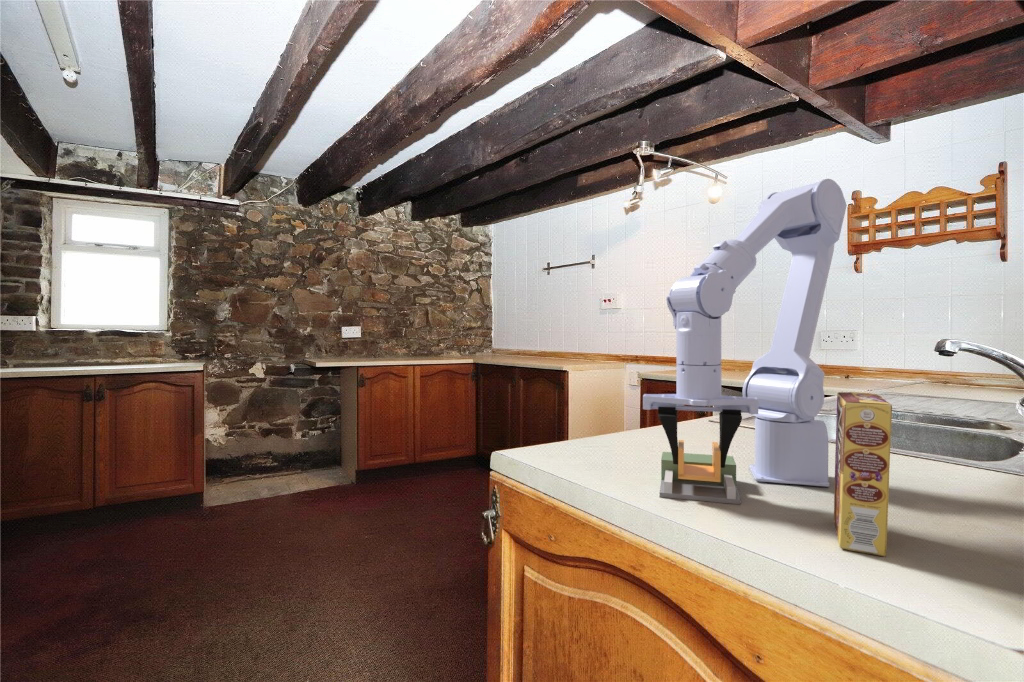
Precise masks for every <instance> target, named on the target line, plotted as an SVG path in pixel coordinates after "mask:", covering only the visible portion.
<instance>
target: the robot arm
mask: <svg viewBox="0 0 1024 682" xmlns="http://www.w3.org/2000/svg"><path fill="white" fill-rule="evenodd" d="M847 206H848V205H847V201H846V199H845V197H844V193H843V190H842V188H841V187H840V185H839V184H838V183H837V182H836V181H835V180H834V179H831V178H825V179H821V180H819V181H817V182H813V183H809V184H805V185H802V186H798V187H795V188H791V189H786V190H784V191H779V192H772V193H769V194H767V196H766V197H765V198H764V200H762V201H760V202H759V203H758V211H757V213H756V214H755V216H754V217H753V218H752V219H751V220H750V221H749V223H748V224H747V225H746V226H745V228H743V229H742V231H741V232H740V233H739V235H738V236H737V237H736V238H735V239H731V238H730V239H726V240H722V241H717V242H716V243H715V244H714V245H713V246H712V248H713V251H712V252H711V253H710V254H709V255H708V256H707V257H706V258H705V259H704V260H703V261H702V262H701V263H697V264H696V265H695V266H694V267H693V271H692V272H691V274H690V276H685V277H684V276H683V277H680V278H679V279H677V280H676V281H675V282H674V283H673V285H672V287H671V288H670V290H669V293H668V296H666V299H665V300H666V305H667V308H668V310H669V312H670V313H671V315H672V324H673V327H674V329H675V330H676V331H675V332H676V339H675V340H676V341H675V342H676V347H675V348H676V352H675V353H676V358H675V359H676V363H675V364H676V367H675V369H676V371H675V372H676V376H675V377H676V379H675V381H676V384H675V385H676V390H675V391H676V393H658V394H657V393H644V394H643V395H642V410H648V411H649V410H657V417H658V418H659V421H660V423H661V425H662V429H663V430H664V433H665V435H666V437H667V441H668V444H669V447H670V452H672V457H673V464H678V442H679V439H678V411H691V412H692V411H693V412H716V413H717V412H718V414H719V416H718V417H719V418H718V419H719V442H718V444H719V448H720V451H721V468H725V462H726V457H727V456H728V454H729V453H728V452H729V449H730V446H731V444H732V442H733V439H734V437H735V434H736V433H737V431H738V429H739V428H740V425H741V423H742V421H743V415H742V413H743V414H749V415H750V416H754V464H752V463H751V464H749V466H748V467H749V469H750V472H751V474H752V476H753V478H754V480H755V481H756V482H764V483H775V484H788V485H789V484H790V485H802V486H815V487H830V482H829V434H828V428H827V425H826V423H825V421H823V420H820V419H815V418H816V417H817V416H818V414H819V413H820V412H821V411H822V409H823V405H824V402H825V392H824V381H825V375H826V373H825V372H824V371H823V369H821V367H820V366H819V365H818V364H817V363H816V362H815V361H813V360H812V358H810V356H811V351H812V348H813V343H814V339H815V334H816V330H817V326H818V321H819V318H820V313H821V308H822V303H823V300H824V299H823V298H824V295H825V291H826V287H827V282H828V278H829V277H828V276H829V273H830V269H831V265H832V260H833V255H834V251H835V244H836V243H837V242H838V241H839V240H840V236H841V233H842V232H841V231H842V227H843V225H844V224H843V223H844V219H845V214H846V211H847V210H846V209H847ZM773 240H776V242H777V244H779V246H780V247H781V249H782V250H785V251H786V252H787V251H788V252H790V254H791V256H792V258H791V261H790V262H791V263H790V266H789V270H788V275H787V278H786V282H785V286H784V292H783V294H782V300H781V303H780V307H779V308H780V309H779V312H778V315H777V319H776V324H775V329H774V332H773V336H772V341H771V345H770V349H769V351H767V352H766V353H765V354H762V355H761V356H760V357H758V358H757V359H755V360H754V361H753V362H752V366H751V370H750V372H749V374H748V375H747V377H746V378H745V380H744V382H743V386H742V396H737V395H736V396H733V395H722V317H723V315H725V314H726V313H727V312H729V311H730V309H731V307H732V304H733V297H734V294H735V293H736V290H737V288H738V287H739V286H740V285H741V284H742V282H743V281H744V280H745V279H746V278H747V277H748V276H749V275H750V274H751V273H752V271H754V269H755V267H756V266H757V254H759V253H760V251H762V250H763V249H764V248H765V247H766V246H767V245H768V244H769V243H770V242H771V241H773Z"/></svg>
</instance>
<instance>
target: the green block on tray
mask: <svg viewBox="0 0 1024 682" xmlns="http://www.w3.org/2000/svg"><path fill="white" fill-rule="evenodd" d="M660 463H661V467H660V468H661V469H660V470H661V471H660V473H661V475H660V477H661V478H660V479H661V480H660V487H659V498H665V499H666V498H667V499H676V500H677V499H678V500H688V501H689V500H690V501H700V502H710V503H719V504H720V503H723V504H730V505H731V504H734V505H742V504H741V503H742V501H741V500H742V499H741V497H740V494H739V490H738V487H737V463H736V461H735V458H734V456H732V455H727V457H726V462H725V468H721V477H720V482H712V481H700V480H688V479H678V464H673V457H672V452H671V451H662V454H661V462H660ZM684 464H691V465H704V466H712V454H701V453H687V452H686V453H685V452H684Z"/></svg>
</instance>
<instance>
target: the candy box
mask: <svg viewBox="0 0 1024 682" xmlns="http://www.w3.org/2000/svg"><path fill="white" fill-rule="evenodd" d="M836 396H837V397H836V401H837V402H836V421H835V422H836V424H835V425H836V428H835V456H834V457H835V463H834V488H833V491H834V492H833V493H834V494H833V495H834V498H833V500H834V501H833V523H834V528H835V532H836V536H837V542H838V546H839V548H840V549H843V550H848V551H853V552H857V553H863V554H868V555H874V556H880V557H886V556H887V545H888V544H887V542H888V539H887V538H888V521H889V520H888V518H889V517H888V515H889V514H888V513H889V491H890V487H889V486H890V465H891V464H890V463H891V442H892V441H891V438H892V437H891V436H892V419H893V418H892V415H893V405H892V404H891V403H890V402H889V401H887V400H886V399H885V398H883V397H882V396H881V395H879V394H877V393H876V394H875V393H871V392H852V391H850V392H845V391H844V392H843V391H842V392H841V391H840V392H837V394H836Z"/></svg>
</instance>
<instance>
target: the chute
mask: <svg viewBox="0 0 1024 682" xmlns="http://www.w3.org/2000/svg"><path fill="white" fill-rule="evenodd" d="M711 444H712V449H711V450H712V454H711V455H712V466H704V465H691V464H684V453H685V440H684V439H678V479H688V480H700V481H712V482H720V477H721V451H720V448H719V442H718V441H712V442H711Z"/></svg>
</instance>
